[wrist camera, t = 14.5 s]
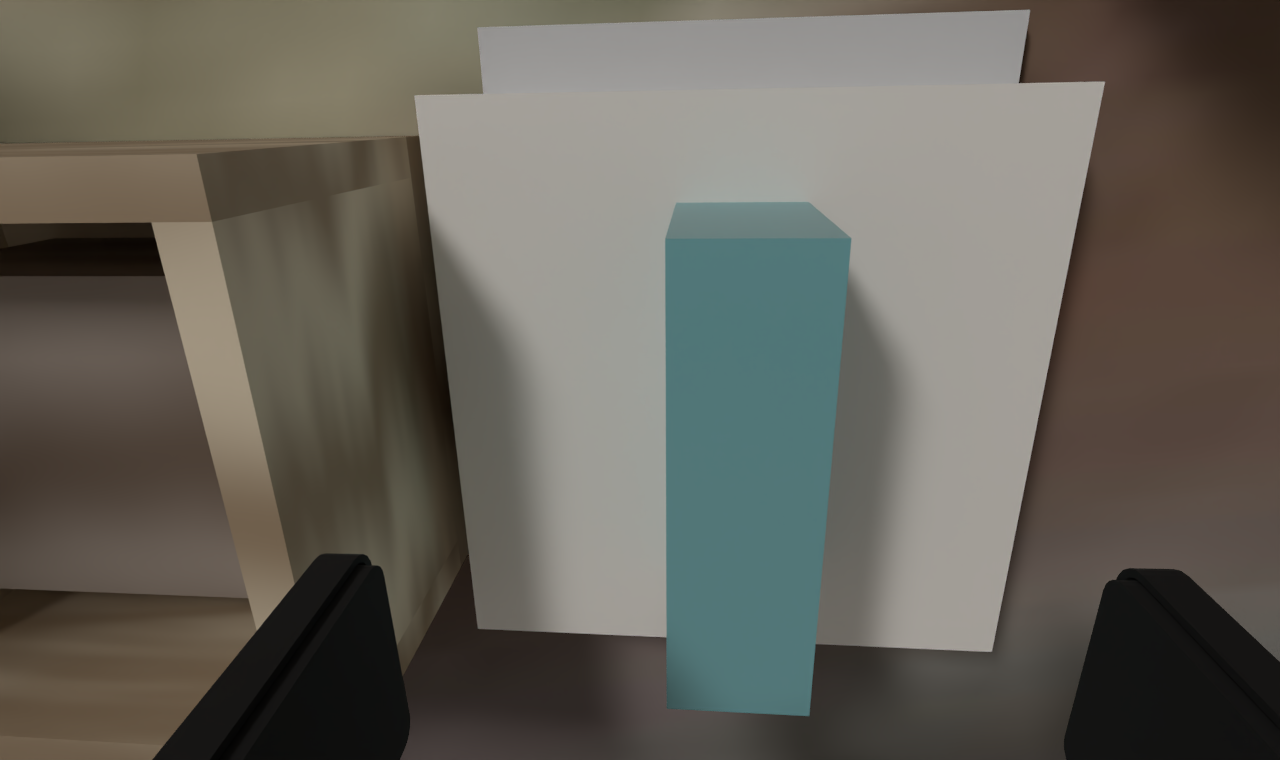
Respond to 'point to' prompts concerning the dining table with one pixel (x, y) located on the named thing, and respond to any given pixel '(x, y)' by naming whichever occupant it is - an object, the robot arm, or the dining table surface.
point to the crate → (207, 416)
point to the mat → (756, 53)
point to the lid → (750, 361)
